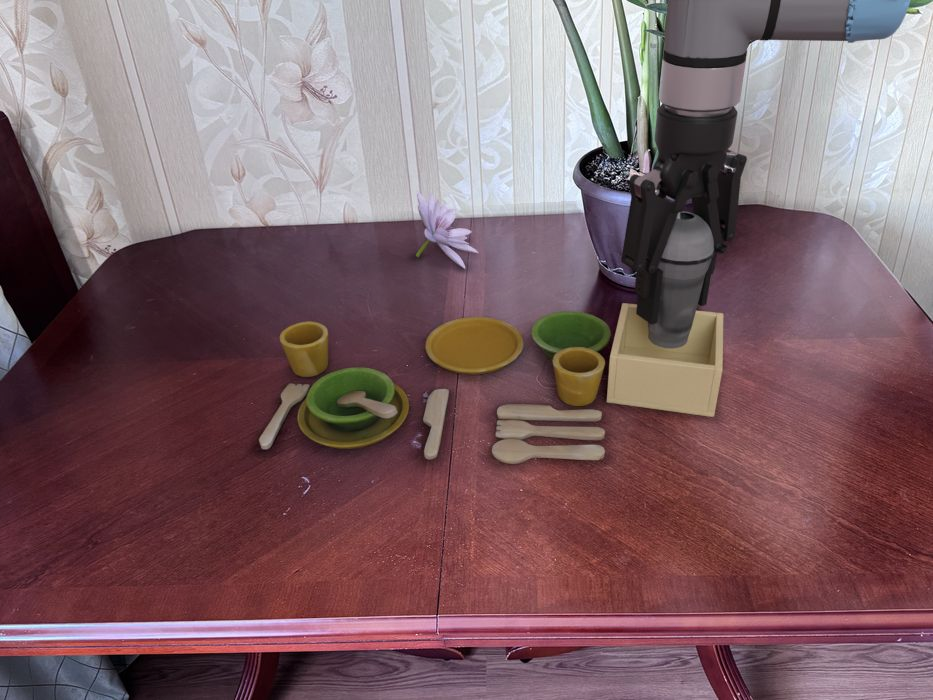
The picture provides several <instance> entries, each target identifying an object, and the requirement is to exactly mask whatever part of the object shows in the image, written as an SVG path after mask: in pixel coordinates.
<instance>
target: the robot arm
mask: <svg viewBox="0 0 933 700" xmlns="http://www.w3.org/2000/svg"><path fill="white" fill-rule="evenodd" d="M911 1H912V0H667V5H666V17H665V26H664V27H665V29H664V41H663V53H662V59H661V63H662V64H661V70H660V71H661V72H660V80H659V89H658V90H659V91H658V100H659V102H660V103H661V104H660V106H659V107H658V108H657V110H656V117H655V129H654V142H655V145H656V149H657V157H656V160H655V162H654V163H653V166H652V170H650V171H649V172H647V173H645V174H643V175H642V176H641V175H639V174H636V173H635V174H634V173H633V175H631V176H630V178H629V181H628V184H629V191H630V203H629V209H628V216H627V221H626V227H625V234H624V240H623V246H622V253H621V258H620V259H621V260H620V261H621V264H623V265H625V266H627V267H628V268H629V269H632V270H633V271H635V282H634V292H635V294H636V295H637V301H636V304H637V310H636V314H637V315H638V316H640V317H641V318H643V319H644V320H646V321H647V322H649V323H650V324H652V325H653V324H655V323H657V320H658V311H659V303H660V294H661V286H662V277H663V271H662V270H661V269H659V268H658V265H659V263H660V260H661V257H662V255H663V252H664V250H665V247H666V244H667V242H668V239H669V236H670V234H671V231H672V228H673V226H674V223H675V220H676V218H677V215H678V213H680V212H682V211H684V210H685V207H686V205H687V202H688V201H689V200H691V204H692V210H693V213H694V214H696V215H698V216H699V217H701V218H702V219H703V220H704V221H705V222H706V223H707V224H708V226H709V227H710V230H711V232H712V236H713V241H714V255H713V257H712V260H711V262H710V265H709V267H708V270H707V272H706V274H705V278H704V282H703V286H702V289H701V293H700V297H699V301H698V305H699V306H700V307H704V306H707V303H708V296H709V290H710V284H711V278H712V275H713V274H714V272H715V269H716V263H717V257H718V254H719V255H724V254H725V253H726V252H727V250H728V245H727V244H725V242H728V243H731V242H733V241H734V239H735V237H736V232H737V231H736V230H737V220H738V212H739V211H738V210H739V202H740V201H739V200H740V191H741V190H740V189H741V180H742V175H743V172H744V170H745V167H746V164H747V160H748V157H747V156H746V155H744V154H742V153H738V152H736V151H733V150H731V149H730V148H731V147H732V145H733V144H734V140H735V139H734V138H735V132H736V126H737V119H738V110H737V109H736V106H737V105H738V104H739V103H740V102H741V97H742V90H743V82H744V76H745V70H746V62H747V56H748V48H749V45H750V41H813V42H815V41H817V42H819V41H820V42H847V43H848V44H853V43H855V42H861V41H863V42H864V41H875V40H885V39H888V38H890V37H891V36H893V35H894V34H895V33H896V32H897V30H899V29H900V27H901V25H902V24H903V22H904V19H905V17H906V15H907V13H908V9H909V7H910V5H911ZM723 225H724V226H723ZM647 257H648V258H649V259H648V258H647ZM698 305H697V306H698Z"/></svg>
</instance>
